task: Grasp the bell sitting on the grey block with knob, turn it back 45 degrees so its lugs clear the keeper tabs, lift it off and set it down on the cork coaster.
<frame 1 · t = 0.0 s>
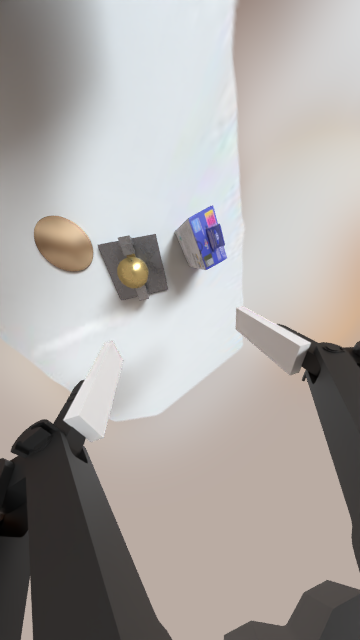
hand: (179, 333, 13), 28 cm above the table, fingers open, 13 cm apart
coaster: (66, 246, 30), on the table
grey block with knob: (137, 269, 35), on the table
ink cartridge box: (191, 245, 35), on the table
bell: (136, 270, 32), point 3 cm above the table, touching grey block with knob
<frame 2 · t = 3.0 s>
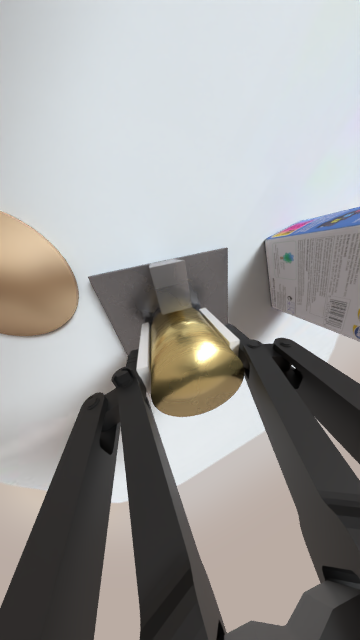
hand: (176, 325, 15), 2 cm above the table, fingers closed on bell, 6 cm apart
coaster: (7, 281, 11), on the table
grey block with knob: (174, 318, 17), on the table
ink cartridge box: (284, 268, 17), on the table
bell: (178, 330, 14), point 3 cm above the table, touching gripper, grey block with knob
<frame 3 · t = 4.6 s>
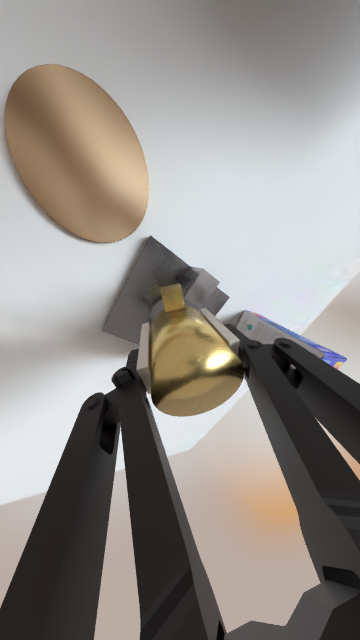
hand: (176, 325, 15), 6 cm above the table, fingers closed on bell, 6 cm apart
coaster: (90, 175, 12), on the table
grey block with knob: (168, 310, 20), on the table
ink cartridge box: (241, 334, 26), on the table
bell: (178, 330, 14), point 7 cm above the table, touching gripper
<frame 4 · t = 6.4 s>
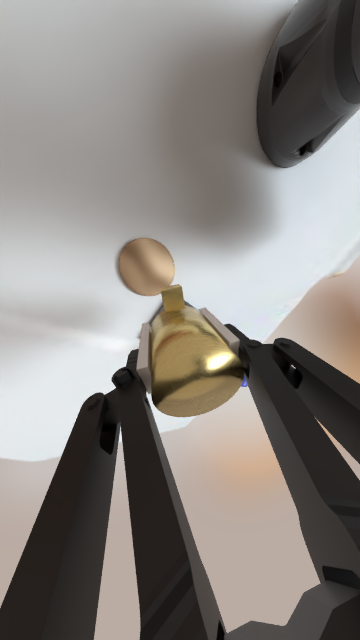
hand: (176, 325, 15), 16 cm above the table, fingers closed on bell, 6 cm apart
coaster: (148, 269, 27), on the table
bell: (178, 330, 14), point 17 cm above the table, touching gripper
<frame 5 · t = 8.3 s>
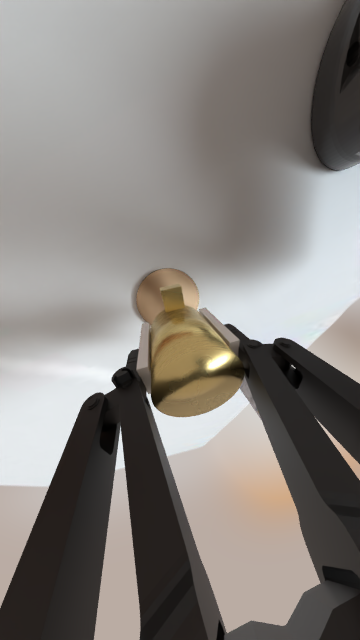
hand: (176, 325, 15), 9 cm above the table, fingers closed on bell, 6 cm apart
coaster: (168, 301, 23), on the table
bell: (178, 330, 14), point 10 cm above the table, touching gripper
when the fingers open (2 cm above the table, at t = 10.0 s): bell drops 2 cm, resting on coaster.
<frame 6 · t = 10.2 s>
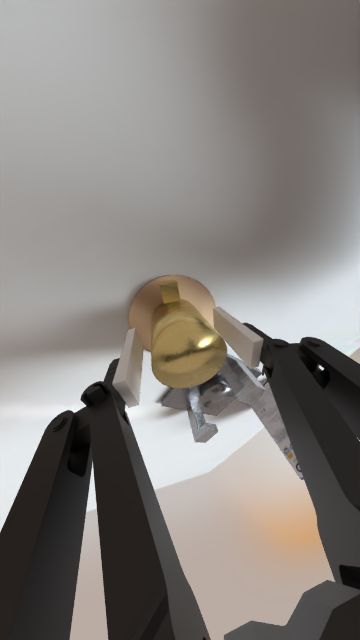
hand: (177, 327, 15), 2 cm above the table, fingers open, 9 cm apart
coaster: (174, 319, 16), on the table
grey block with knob: (211, 384, 24), on the table
ink cartridge box: (266, 390, 30), on the table
bell: (175, 321, 16), point 1 cm above the table, touching coaster
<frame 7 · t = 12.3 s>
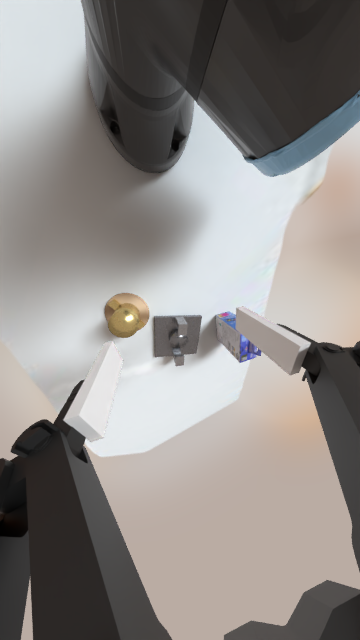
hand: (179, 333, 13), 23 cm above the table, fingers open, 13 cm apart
coaster: (128, 313, 34), on the table
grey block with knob: (177, 335, 41), on the table
ink cartridge box: (223, 325, 43), on the table
bell: (128, 313, 34), point 1 cm above the table, touching coaster
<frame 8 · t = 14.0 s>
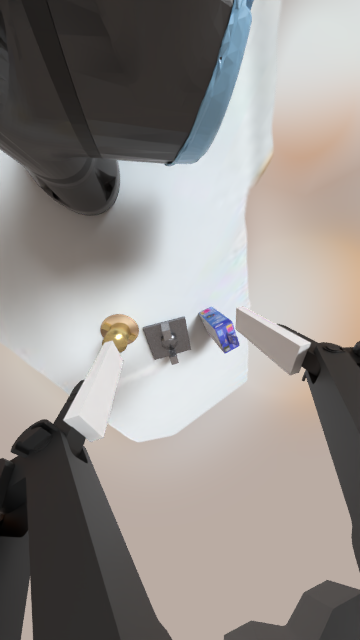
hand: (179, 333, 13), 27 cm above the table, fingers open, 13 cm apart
coaster: (120, 330, 40), on the table
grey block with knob: (168, 338, 46), on the table
ink cartridge box: (209, 319, 46), on the table
bell: (120, 330, 40), point 1 cm above the table, touching coaster
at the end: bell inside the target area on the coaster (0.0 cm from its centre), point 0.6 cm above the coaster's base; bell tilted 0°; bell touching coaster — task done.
